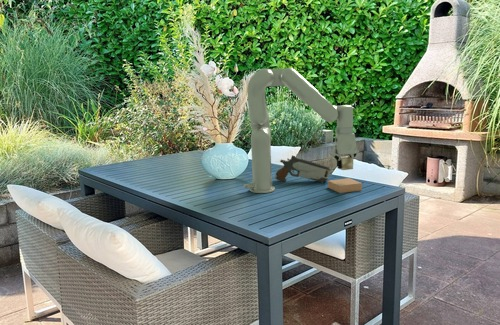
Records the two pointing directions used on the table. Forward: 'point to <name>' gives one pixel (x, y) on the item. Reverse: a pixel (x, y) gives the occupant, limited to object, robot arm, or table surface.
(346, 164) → the beech cube
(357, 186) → the terracotta base
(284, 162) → the gun
